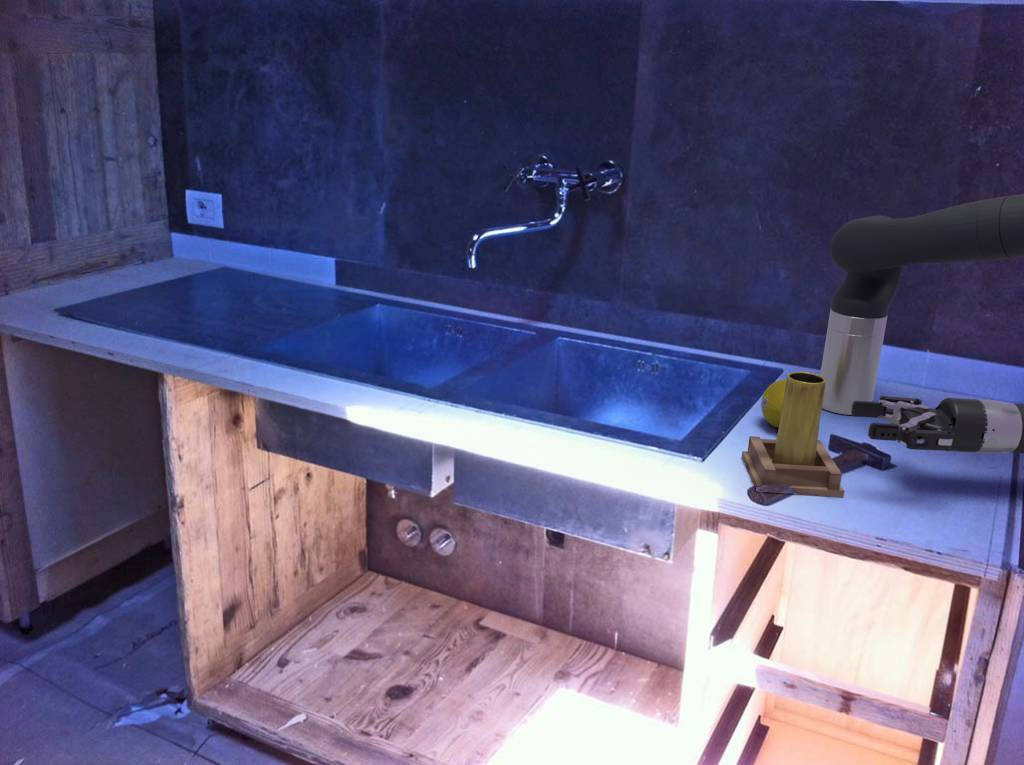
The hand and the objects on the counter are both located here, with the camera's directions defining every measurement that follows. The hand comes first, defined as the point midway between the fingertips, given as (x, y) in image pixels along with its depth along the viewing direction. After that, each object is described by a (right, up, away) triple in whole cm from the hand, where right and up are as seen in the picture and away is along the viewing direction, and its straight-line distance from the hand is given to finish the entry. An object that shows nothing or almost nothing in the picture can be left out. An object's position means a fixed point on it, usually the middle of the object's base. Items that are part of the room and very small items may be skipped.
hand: (860, 419), depth 133 cm
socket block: (-9, -8, +4) cm, 13 cm away
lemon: (-5, -3, +21) cm, 22 cm away
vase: (-9, -8, +3) cm, 12 cm away
